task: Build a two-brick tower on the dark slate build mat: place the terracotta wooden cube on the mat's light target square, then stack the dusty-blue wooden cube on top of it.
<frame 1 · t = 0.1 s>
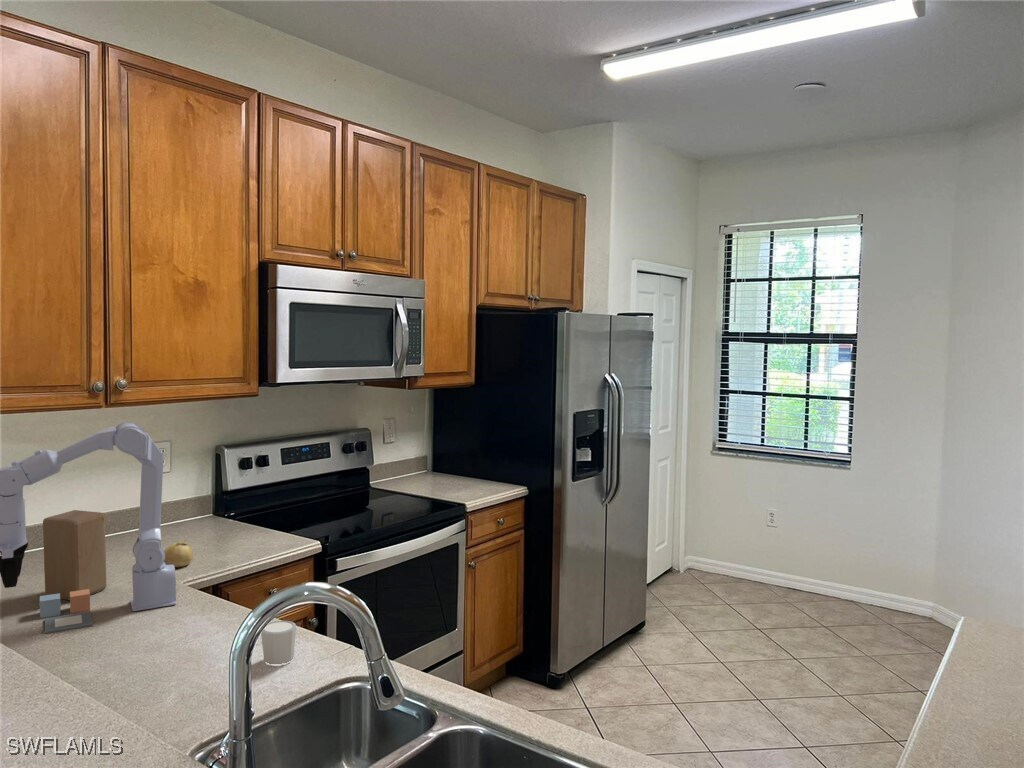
hand: (12, 581, 167), 10 cm above the countertop, fingers open, 7 cm apart
build mat: (68, 622, 170), on the countertop
wooden block: (76, 594, 189), on the countertop
terracotta brick: (80, 609, 178), on the countertop
onion: (178, 566, 212), on the countertop
white tapered cup: (279, 661, 151), on the countertop
blue brick: (50, 614, 175), on the countertop
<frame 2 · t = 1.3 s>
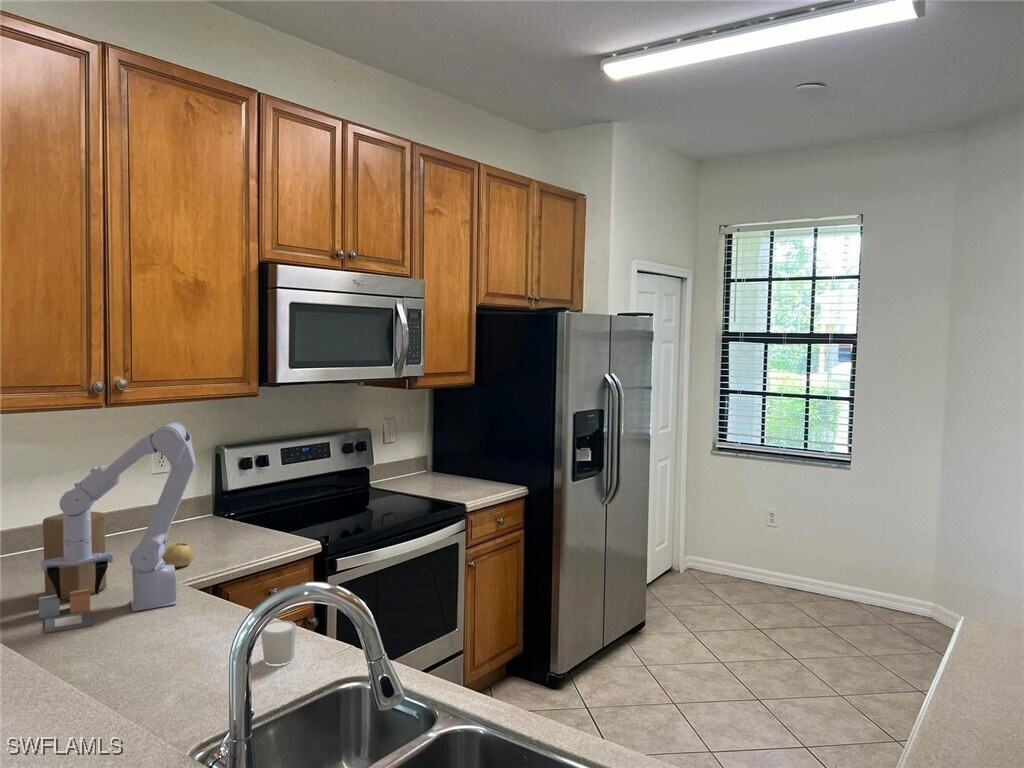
hand: (78, 595, 178), 3 cm above the countertop, fingers open, 7 cm apart
blue brick: (49, 615, 175), on the countertop, touching gripper
everything else where it was.
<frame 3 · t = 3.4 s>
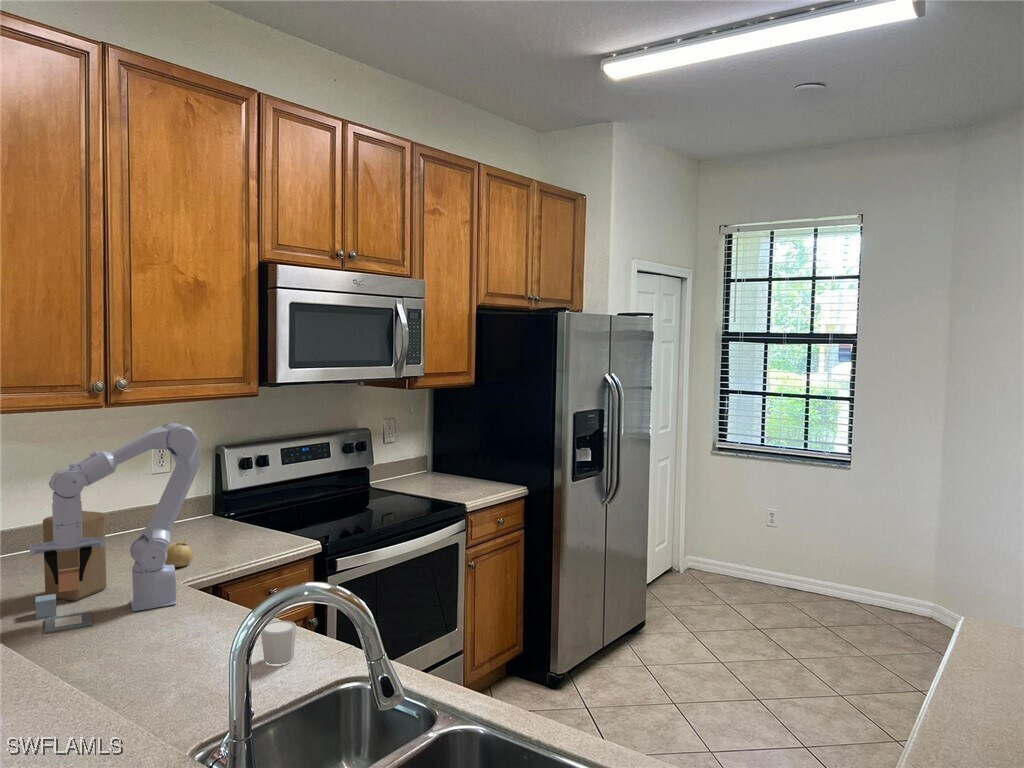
hand: (69, 581, 171), 9 cm above the countertop, fingers closed on terracotta brick, 4 cm apart
terracotta brick: (69, 588, 171), point 7 cm above the countertop, touching gripper
blue brick: (46, 614, 175), on the countertop
everything else where it was.
when the fingers open (3 cm above the countertop, at t = 5.0 s): terracotta brick stays where it is, resting on build mat.
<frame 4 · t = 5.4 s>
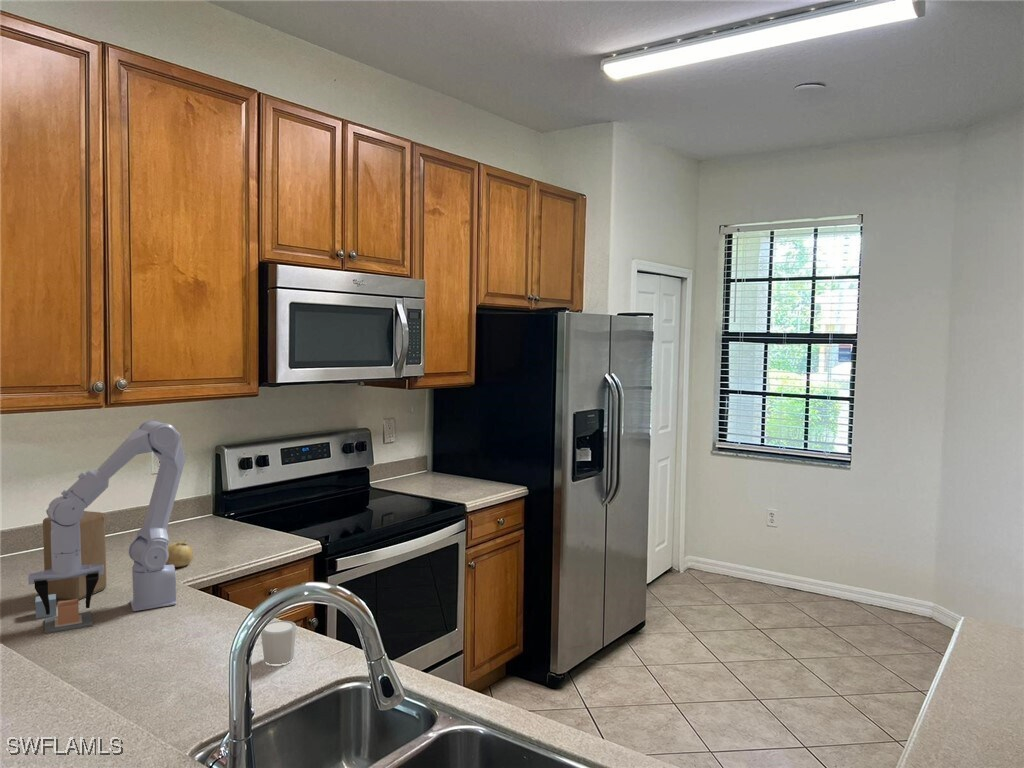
hand: (68, 609, 169), 3 cm above the countertop, fingers open, 7 cm apart
terracotta brick: (68, 620, 170), resting on build mat
everything else where it was.
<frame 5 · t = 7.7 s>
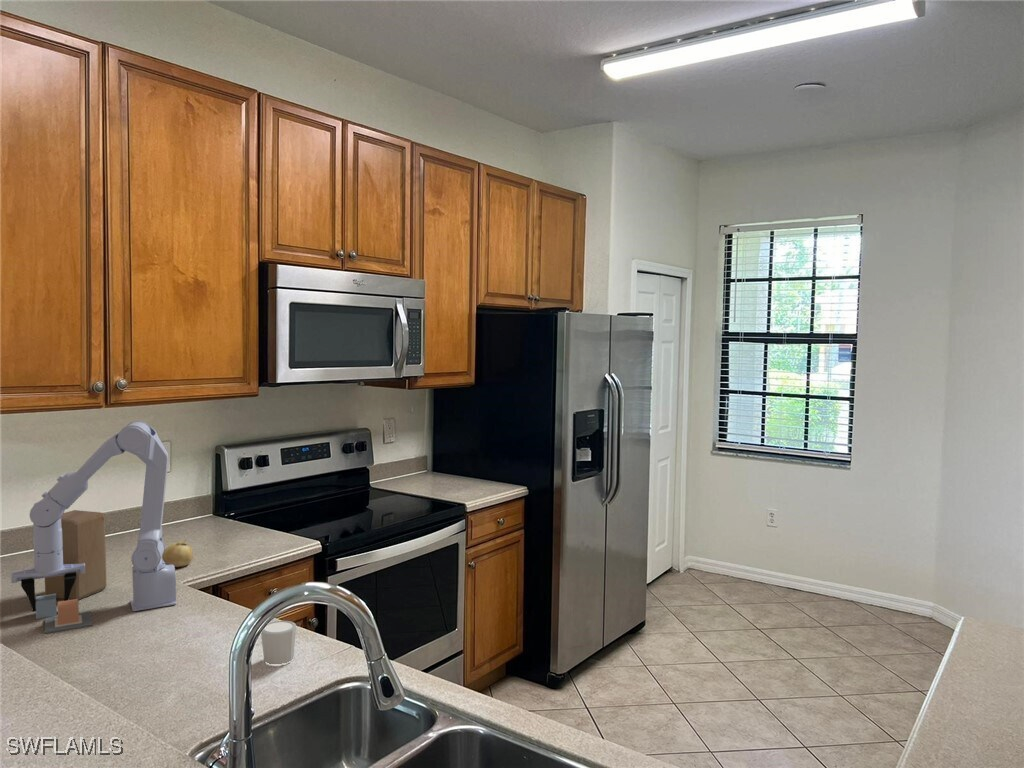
hand: (50, 607, 175), 1 cm above the countertop, fingers open, 6 cm apart
blue brick: (46, 614, 175), on the countertop, touching gripper
everything else where it was.
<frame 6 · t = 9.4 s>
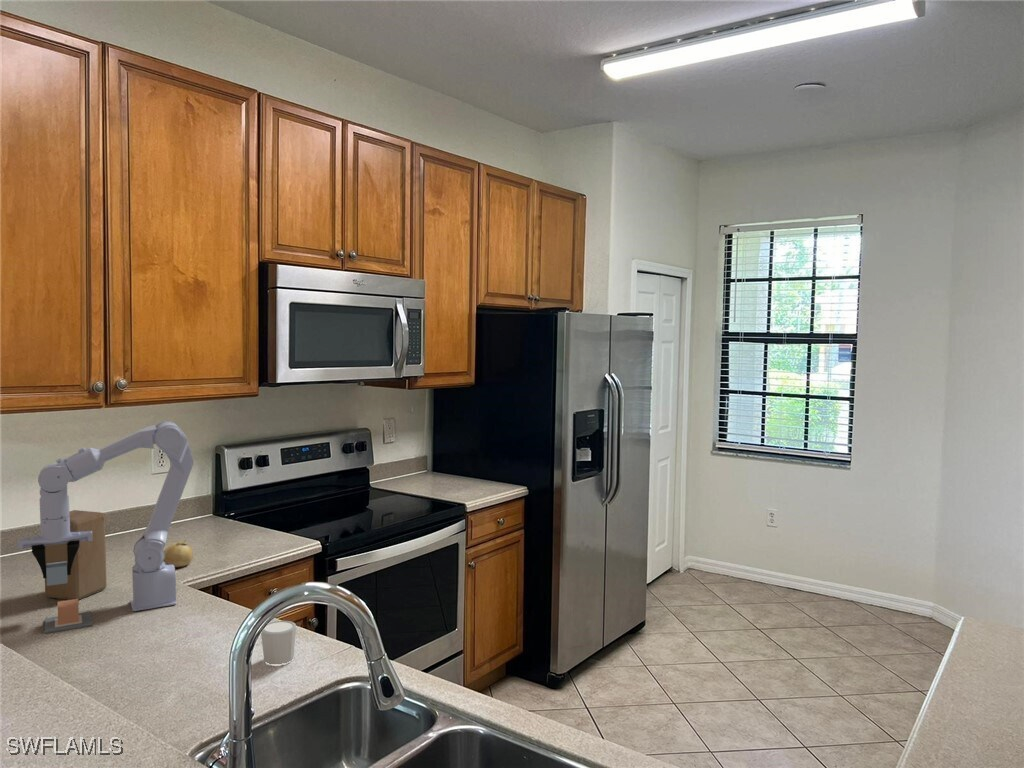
hand: (57, 575, 172), 10 cm above the countertop, fingers closed on blue brick, 4 cm apart
blue brick: (57, 581, 172), point 8 cm above the countertop, touching gripper
everything else where it was.
when the fingers open (7 cm above the countertop, at t = 10.8 s): blue brick stays where it is, resting on terracotta brick.
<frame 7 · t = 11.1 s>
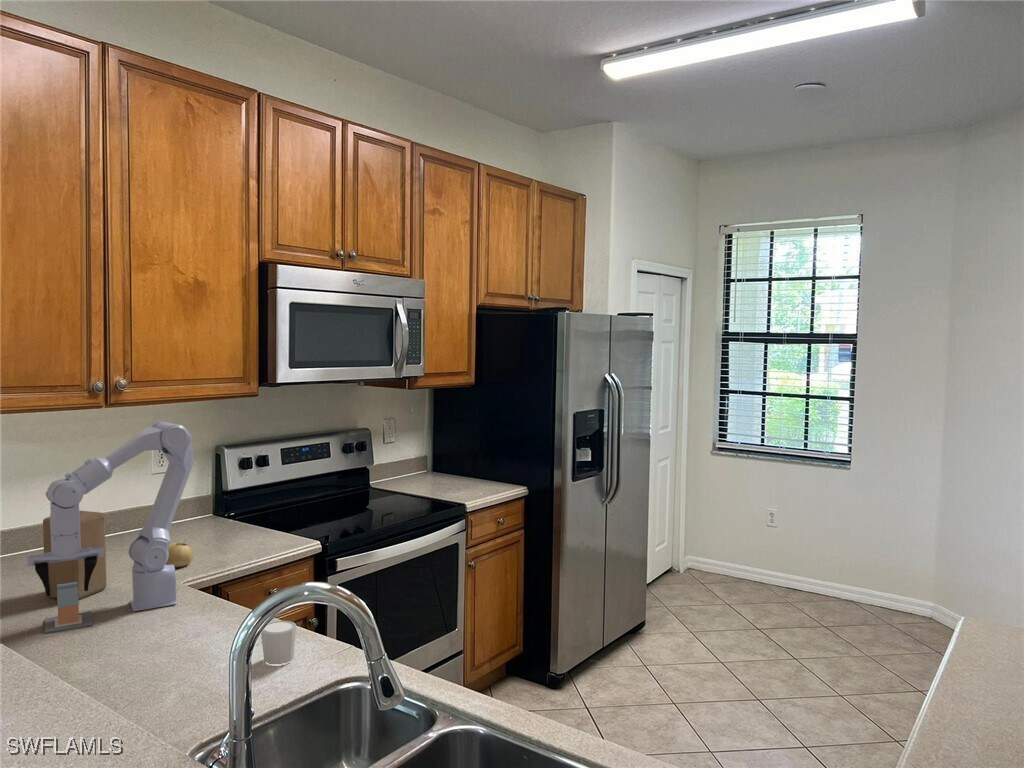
hand: (67, 592, 169), 7 cm above the countertop, fingers open, 7 cm apart
terracotta brick: (68, 620, 170), resting on build mat, touching blue brick
blue brick: (67, 603, 169), point 4 cm above the countertop, touching terracotta brick
everything else where it was.
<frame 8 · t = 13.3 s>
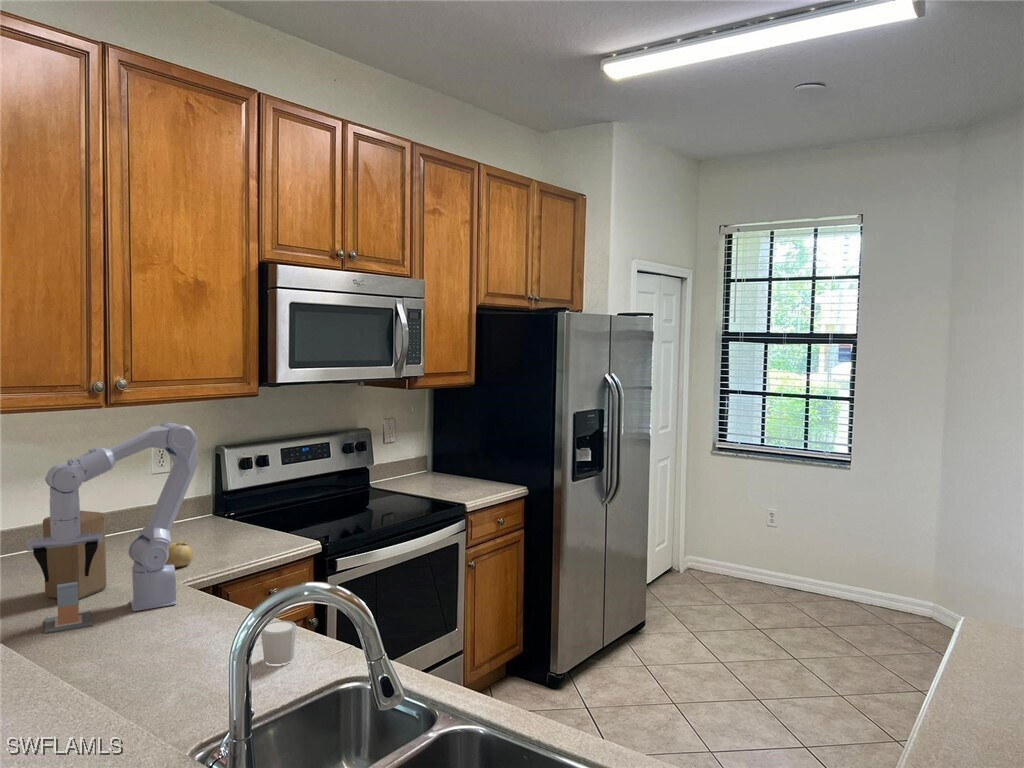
hand: (67, 577, 169), 10 cm above the countertop, fingers open, 7 cm apart
nothing on the countertop moved.
at the end: terracotta brick inside the target area (0.3 cm from its centre), point 0.5 cm above the countertop; blue brick 0.1 cm off-centre on the terracotta brick, point 4.0 cm above the terracotta brick's base; blue brick tilted 0° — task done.
